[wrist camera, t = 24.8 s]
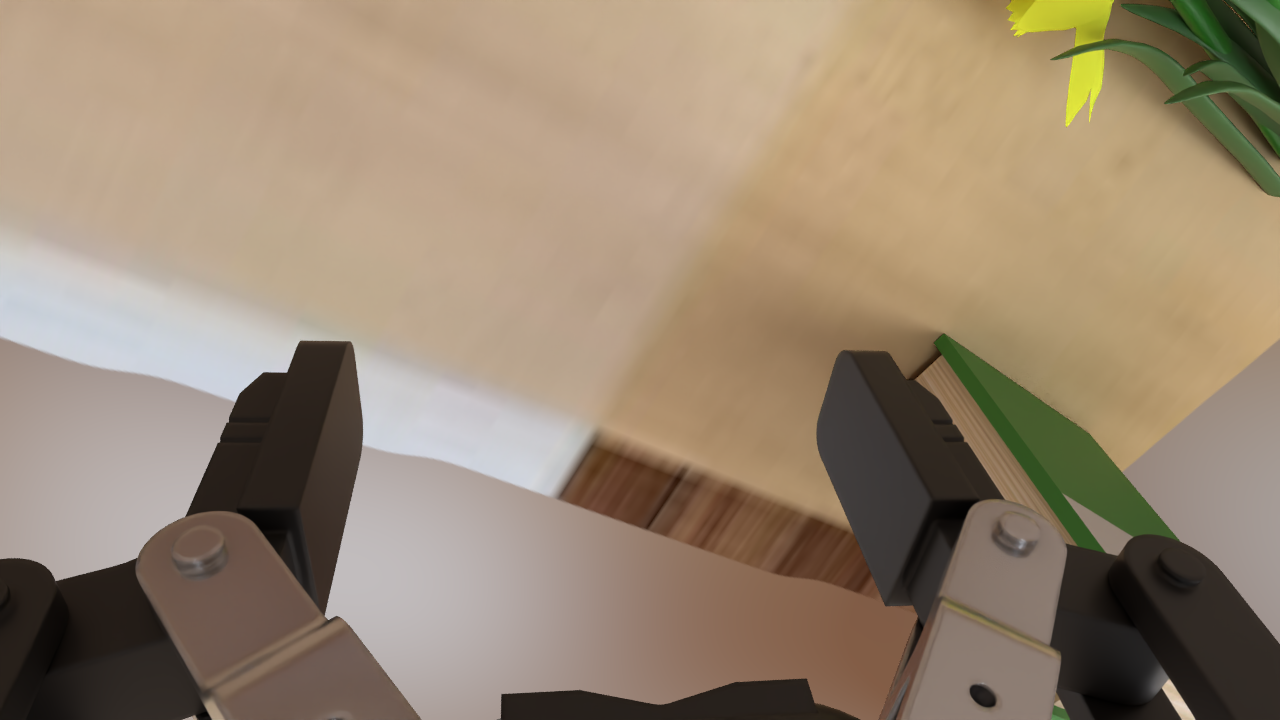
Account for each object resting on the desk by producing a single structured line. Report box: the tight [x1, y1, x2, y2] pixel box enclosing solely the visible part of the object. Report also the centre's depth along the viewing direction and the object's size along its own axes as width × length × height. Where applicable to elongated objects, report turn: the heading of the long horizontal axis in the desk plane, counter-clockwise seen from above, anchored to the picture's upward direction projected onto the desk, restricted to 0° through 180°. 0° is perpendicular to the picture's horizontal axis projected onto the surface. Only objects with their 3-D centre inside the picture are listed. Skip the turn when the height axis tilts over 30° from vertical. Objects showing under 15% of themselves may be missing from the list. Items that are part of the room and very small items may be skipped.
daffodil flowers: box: [1006, 0, 1280, 197], centre depth 38 cm, size 17×15×35 cm
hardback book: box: [915, 334, 1195, 720], centre depth 51 cm, size 18×7×24 cm, turn 53°
